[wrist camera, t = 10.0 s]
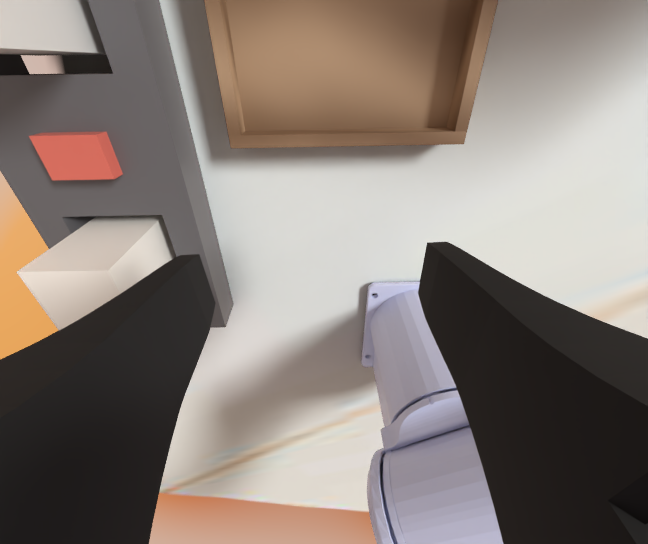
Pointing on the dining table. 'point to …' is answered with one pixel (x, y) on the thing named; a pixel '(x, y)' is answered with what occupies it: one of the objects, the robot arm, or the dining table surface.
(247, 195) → the dining table surface
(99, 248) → the white plug
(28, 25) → the seated plug
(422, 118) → the tray
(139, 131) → the power strip
